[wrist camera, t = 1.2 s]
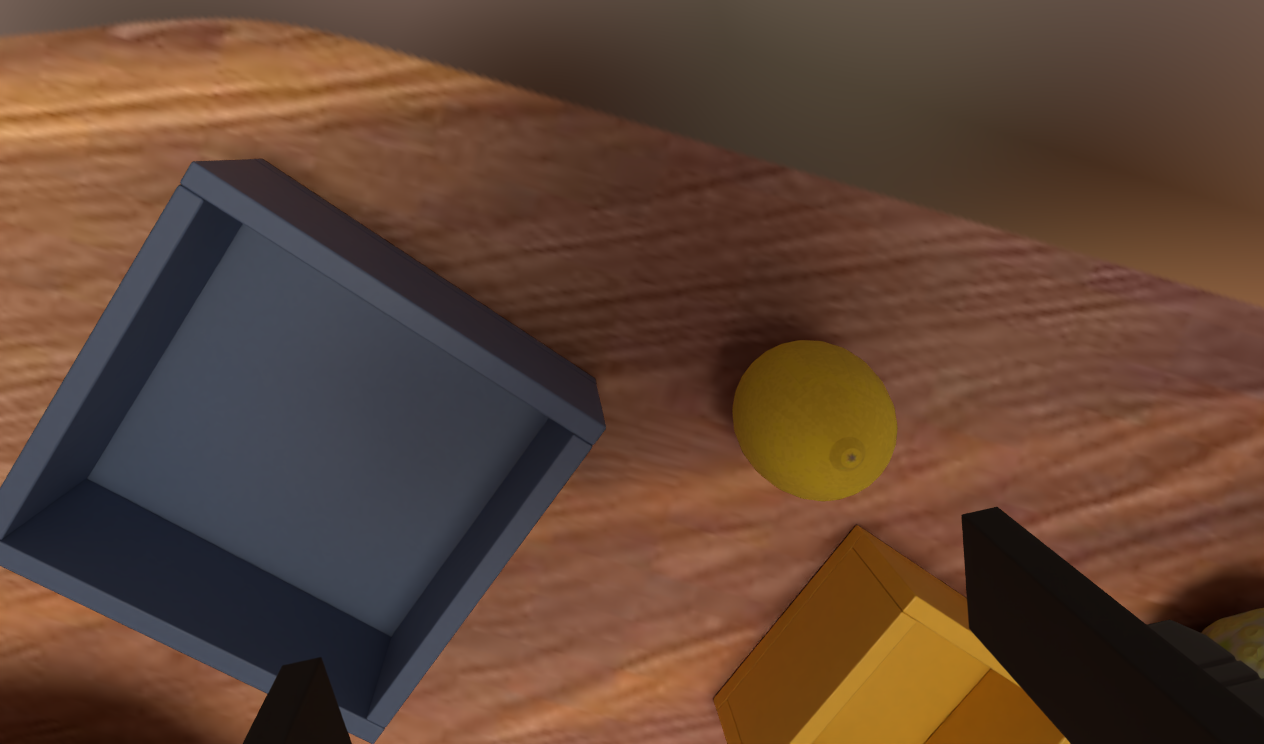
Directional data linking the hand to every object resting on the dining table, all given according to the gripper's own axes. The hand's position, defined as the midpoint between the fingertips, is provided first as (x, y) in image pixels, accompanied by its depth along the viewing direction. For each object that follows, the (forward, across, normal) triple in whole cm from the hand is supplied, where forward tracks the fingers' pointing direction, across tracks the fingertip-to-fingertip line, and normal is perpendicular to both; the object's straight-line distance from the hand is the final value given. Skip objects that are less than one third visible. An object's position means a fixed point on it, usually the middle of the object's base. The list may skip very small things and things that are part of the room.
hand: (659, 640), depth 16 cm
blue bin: (+17, -10, +1) cm, 20 cm away
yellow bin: (+17, +10, -16) cm, 25 cm away
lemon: (+17, +7, -1) cm, 18 cm away
